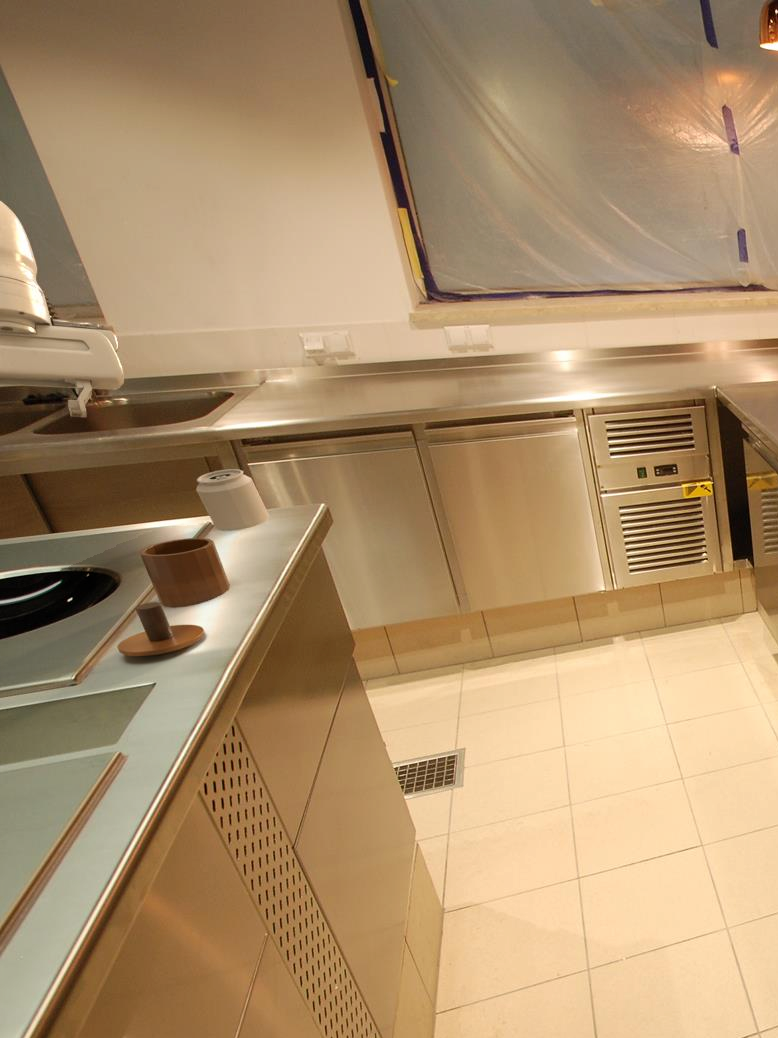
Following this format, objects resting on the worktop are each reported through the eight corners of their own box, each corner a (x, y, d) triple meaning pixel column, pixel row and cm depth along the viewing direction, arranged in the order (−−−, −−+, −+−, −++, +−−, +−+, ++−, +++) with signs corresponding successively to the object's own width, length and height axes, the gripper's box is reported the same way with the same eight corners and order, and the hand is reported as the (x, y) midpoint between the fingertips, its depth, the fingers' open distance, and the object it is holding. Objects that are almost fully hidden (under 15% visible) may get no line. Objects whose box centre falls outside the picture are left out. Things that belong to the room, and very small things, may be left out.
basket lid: (134, 666, 103) (115, 624, 101) (111, 649, 107) (93, 608, 105) (217, 643, 109) (201, 603, 107) (193, 627, 114) (177, 588, 111)
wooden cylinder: (173, 617, 116) (149, 559, 113) (155, 604, 120) (132, 547, 117) (241, 600, 122) (221, 545, 119) (222, 588, 126) (202, 534, 123)
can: (273, 527, 150) (242, 463, 143) (282, 540, 145) (250, 474, 139) (221, 540, 145) (187, 474, 139) (229, 553, 141) (194, 486, 134)
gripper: (111, 335, 119) (135, 426, 118) (-119, 316, 104) (-93, 421, 103) (113, 312, 115) (138, 407, 114) (-127, 289, 100) (-99, 398, 99)
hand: (27, 413), depth 108 cm, fingers open, 8 cm apart
